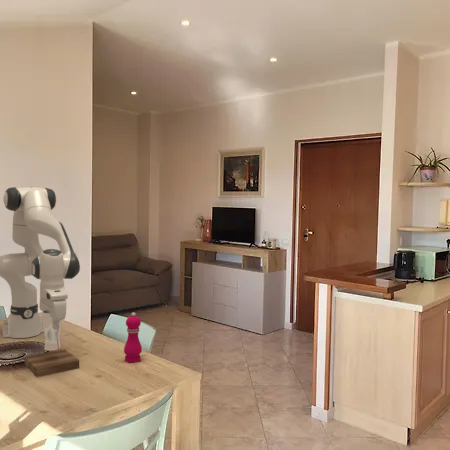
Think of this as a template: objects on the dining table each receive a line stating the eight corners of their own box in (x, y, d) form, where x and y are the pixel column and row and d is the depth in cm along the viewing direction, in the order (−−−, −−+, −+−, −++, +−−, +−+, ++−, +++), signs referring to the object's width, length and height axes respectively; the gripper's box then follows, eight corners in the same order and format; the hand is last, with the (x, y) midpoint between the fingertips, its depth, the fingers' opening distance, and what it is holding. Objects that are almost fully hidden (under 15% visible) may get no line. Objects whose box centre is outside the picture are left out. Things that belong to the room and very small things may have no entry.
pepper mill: (135, 356, 197) (136, 309, 196) (145, 360, 192) (146, 312, 191) (120, 359, 192) (121, 312, 191) (130, 364, 187) (130, 315, 186)
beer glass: (46, 352, 178) (45, 314, 177) (40, 347, 183) (39, 310, 182) (64, 348, 183) (63, 311, 181) (57, 344, 188) (57, 307, 187)
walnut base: (24, 364, 184) (24, 356, 184) (64, 356, 194) (64, 349, 194) (37, 377, 172) (37, 369, 172) (79, 367, 182) (79, 360, 182)
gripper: (35, 287, 187) (35, 321, 188) (52, 297, 171) (52, 334, 172) (51, 286, 191) (51, 319, 192) (69, 295, 175) (69, 331, 176)
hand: (51, 326), depth 182 cm, fingers closed on beer glass, 7 cm apart
